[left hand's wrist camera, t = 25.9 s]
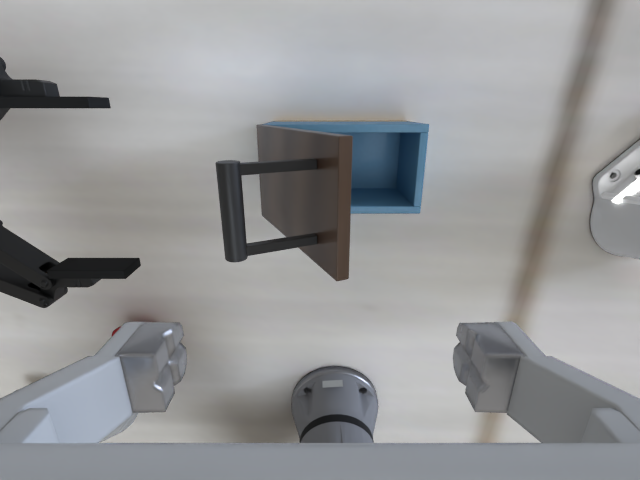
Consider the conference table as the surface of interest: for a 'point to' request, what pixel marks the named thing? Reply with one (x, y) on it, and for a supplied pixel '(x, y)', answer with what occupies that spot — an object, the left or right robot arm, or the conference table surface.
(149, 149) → the conference table surface
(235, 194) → the lid
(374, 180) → the chest
